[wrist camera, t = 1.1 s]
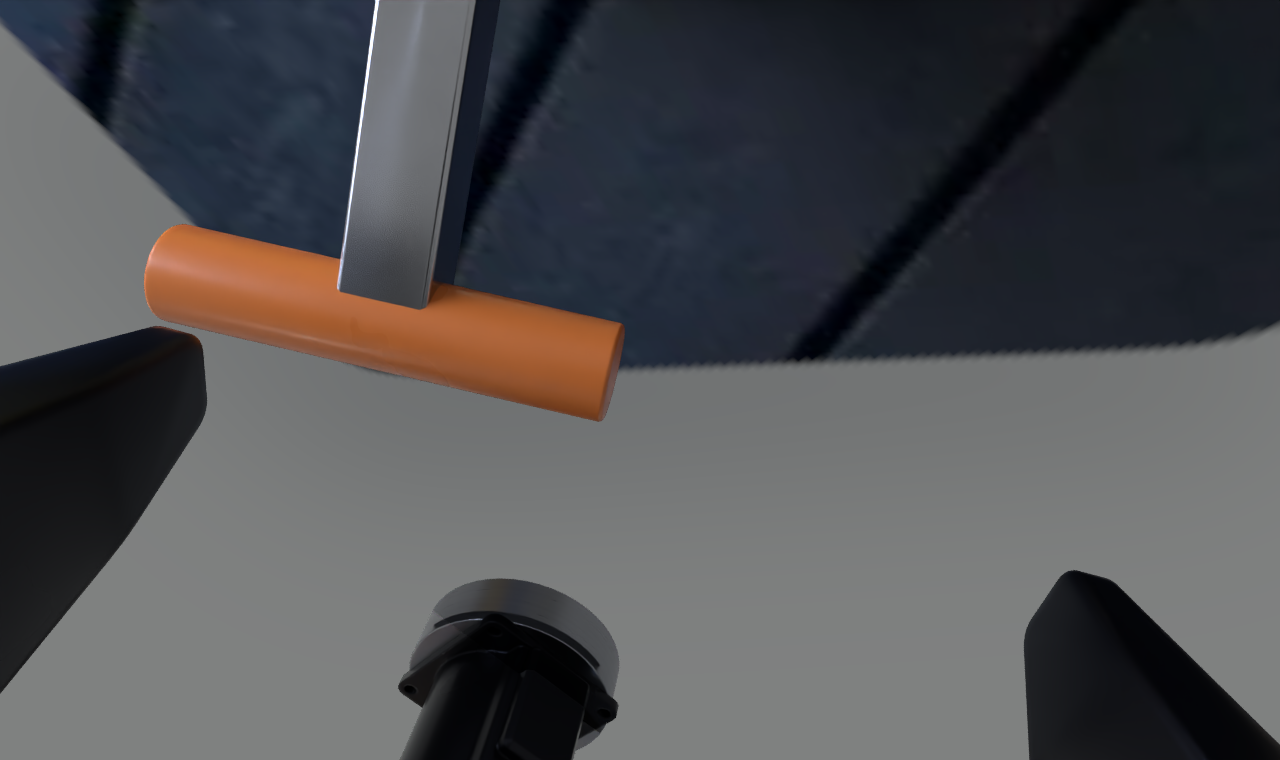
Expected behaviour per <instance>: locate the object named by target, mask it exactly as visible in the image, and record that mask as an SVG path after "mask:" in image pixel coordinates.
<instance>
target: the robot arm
mask: <svg viewBox="0 0 1280 760" xmlns="http://www.w3.org/2000/svg"><path fill="white" fill-rule="evenodd" d="M206 406H207V393H206V381H205V369H204V357H203V349H202V345H201V343H200V341H199V339H198V338H197V337H195V336H194V335H192V334H189V333H185V332H181V331H177V330H173V329H170V328H166V327H161V326H154V327H149V328H146V329H141V330H138V331H134V332H130V333H126V334H122V335H119V336H115V337H111V338H107V339H103V340H99V341H96V342H92V343H88V344H84V345H80V346H76V347H73V348H69V349H65V350H61V351H58V352H53V353H50V354H46V355H42V356H38V357H35V358H31V359H27V360H23V361H19V362H16V363H11V364H8V365H4V366H0V693H1V692H2V691H3V690H4V688H5V687H6V686H7V685H8V683H9V682H10V681H11V680H12V679H13V677H14V676H15V675H16V674H17V672H18V671H19V670H20V669H21V668H22V666H23V665H24V664H25V663H26V661H27V660H28V659H29V658H30V656H31V655H32V654H33V653H34V651H35V650H36V649H37V648H38V647H39V645H40V644H41V643H42V642H43V640H44V639H45V638H46V637H47V636H48V634H49V633H50V632H51V631H52V630H53V628H54V627H55V626H56V625H57V623H58V622H59V621H60V620H61V619H62V617H63V616H64V615H65V614H66V612H67V611H68V610H69V609H70V608H71V606H72V605H73V604H74V603H75V601H76V600H77V599H78V598H79V596H80V595H81V594H82V593H83V592H84V590H85V589H86V588H87V587H88V585H89V584H90V583H91V581H93V579H94V578H95V577H96V576H97V574H98V573H99V572H100V571H101V569H102V568H103V567H104V566H105V565H106V563H107V562H108V561H109V560H110V558H111V557H112V556H113V555H114V553H115V552H116V551H117V549H118V548H119V547H120V546H121V544H122V543H123V542H124V540H125V539H126V537H127V536H128V535H129V533H130V532H131V530H132V529H133V527H134V526H135V525H136V523H137V522H138V520H139V519H140V517H141V516H142V514H143V512H144V511H145V509H146V508H147V506H148V504H149V503H150V502H151V500H152V498H153V497H154V495H155V494H156V492H157V491H158V489H159V488H160V486H161V485H162V483H163V481H164V480H165V478H166V477H167V475H168V474H169V472H170V470H171V469H172V468H173V466H174V464H175V463H176V461H177V460H178V458H179V457H180V455H181V454H182V452H183V451H184V449H185V447H186V446H187V444H188V443H189V441H190V440H191V438H192V437H193V435H194V433H195V432H196V430H197V429H198V427H199V426H200V424H201V422H202V420H203V417H204V415H205V411H206ZM496 627H497V628H496ZM1024 658H1025V679H1026V699H1027V719H1028V740H1029V760H1280V744H1279V743H1278V742H1276V740H1274V739H1273V738H1272V737H1271V736H1270V735H1269V734H1268V733H1267V732H1266V731H1265V730H1264V729H1263V728H1262V727H1261V726H1260V725H1259V724H1258V723H1257V722H1256V721H1255V720H1254V719H1253V718H1252V717H1251V716H1250V715H1249V714H1248V713H1247V712H1246V711H1245V710H1244V709H1243V708H1242V707H1241V706H1240V705H1239V704H1238V703H1237V702H1236V701H1235V700H1234V699H1233V698H1232V697H1231V696H1230V695H1228V693H1227V692H1225V690H1224V689H1222V688H1221V687H1220V686H1219V685H1218V684H1217V683H1216V682H1215V681H1214V680H1213V679H1212V678H1211V677H1210V676H1209V675H1208V674H1207V673H1206V672H1205V671H1204V670H1203V669H1202V668H1201V667H1200V666H1199V665H1198V664H1197V663H1196V662H1195V661H1194V660H1193V659H1192V658H1191V657H1190V656H1189V655H1188V654H1187V653H1186V652H1185V651H1184V650H1183V649H1182V648H1181V647H1180V646H1179V645H1178V644H1177V643H1176V642H1175V641H1173V639H1172V638H1171V637H1170V636H1169V635H1168V634H1167V633H1166V632H1164V631H1163V630H1162V629H1161V628H1160V627H1159V626H1158V625H1157V624H1156V623H1155V622H1154V621H1153V620H1152V619H1151V618H1150V617H1149V616H1148V615H1147V614H1146V613H1145V612H1144V611H1143V610H1142V609H1141V608H1140V607H1139V606H1138V605H1137V604H1136V603H1135V602H1134V601H1133V600H1132V599H1131V598H1130V597H1129V596H1128V595H1127V594H1126V593H1125V592H1124V591H1123V590H1122V589H1121V588H1120V587H1119V586H1118V585H1117V584H1115V583H1114V582H1113V581H1111V580H1109V579H1107V578H1103V577H1100V576H1096V575H1092V574H1088V573H1084V572H1081V571H1077V570H1076V571H1075V570H1073V571H1068V572H1066V573H1064V574H1063V575H1062V576H1061V577H1060V578H1059V579H1058V581H1057V582H1056V584H1055V585H1054V587H1053V588H1052V589H1051V591H1050V593H1049V594H1048V595H1047V597H1046V598H1045V600H1044V601H1043V603H1042V604H1041V606H1040V607H1039V609H1038V610H1037V612H1036V613H1035V615H1034V616H1033V617H1032V619H1031V621H1030V622H1029V625H1028V627H1027V629H1026V633H1025V639H1024ZM398 689H399V690H400V692H401V693H402V694H403V695H405V696H406V697H408V698H409V699H411V700H412V701H413V702H415V703H416V704H418V705H419V706H421V707H422V710H421V712H420V715H419V717H418V719H417V721H416V724H415V726H414V729H413V731H412V733H411V736H410V738H409V740H408V742H407V745H406V747H405V749H404V751H403V754H402V756H401V758H400V760H573V758H574V754H575V750H576V746H577V742H578V739H580V738H582V737H584V736H586V735H587V734H589V733H591V732H593V731H595V730H596V729H598V728H600V727H602V726H604V725H605V724H607V723H609V722H611V721H613V720H614V719H615V718H616V716H617V711H618V707H619V705H618V703H617V702H616V700H614V699H613V698H612V697H611V696H609V695H608V694H607V693H605V692H604V691H603V690H601V689H600V688H599V687H598V686H596V685H595V684H594V683H592V682H591V681H590V680H588V679H587V678H586V677H584V676H583V675H582V674H580V673H579V672H578V671H576V670H575V669H574V668H572V667H571V666H570V665H568V664H567V663H566V662H564V661H563V660H562V659H560V658H559V657H558V656H556V655H555V654H554V653H552V652H551V651H550V650H548V649H547V648H546V647H544V646H543V645H542V644H540V643H539V642H538V641H537V640H535V639H534V638H533V637H531V636H530V635H529V634H527V633H526V632H525V631H523V630H522V629H521V628H519V627H518V626H517V625H515V624H514V623H513V622H511V621H510V620H509V619H507V618H506V617H504V616H502V615H500V614H489V615H487V616H486V617H484V618H483V619H481V620H480V621H479V622H477V623H476V624H474V625H473V626H472V627H470V628H469V629H467V630H466V631H465V632H463V633H462V634H460V635H459V636H458V637H456V638H455V639H453V640H452V641H451V642H449V643H448V644H446V645H445V646H444V647H442V648H441V649H439V650H438V651H437V652H435V653H434V654H432V655H431V656H430V657H428V658H427V659H425V660H424V661H422V662H421V663H420V664H418V665H417V666H415V667H414V668H413V669H411V670H410V671H408V672H407V673H406V674H404V675H403V677H402V679H401V681H400V683H399V685H398Z"/></svg>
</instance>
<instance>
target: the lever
mask: <svg viewBox="0 0 1280 760" xmlns="http://www.w3.org/2000/svg"><path fill="white" fill-rule="evenodd" d="M499 4H500V0H375V4H374V12H373V19H372V27H371V34H370V42H369V49H368V57H367V64H366V72H365V79H364V87H363V94H362V102H361V109H360V117H359V124H358V132H357V139H356V147H355V154H354V162H353V169H352V177H351V184H350V192H349V199H348V207H347V214H346V222H345V229H344V237H343V244H342V252H341V259H336V258H332V257H328V256H323V255H319V254H314V253H310V252H306V251H301V250H297V249H293V248H288V247H284V246H279V245H275V244H271V243H266V242H262V241H257V240H253V239H249V238H244V237H240V236H235V235H231V234H227V233H222V232H218V231H213V230H209V229H205V228H200V227H196V226H191V225H187V224H182V225H176V226H173V227H171V228H169V229H168V230H166V231H165V232H164V233H163V234H162V235H161V236H160V237H159V239H158V240H157V241H156V243H155V245H154V246H153V248H152V250H151V253H150V255H149V258H148V261H147V265H146V269H145V277H144V288H145V289H144V290H145V296H146V300H147V303H148V306H149V307H150V309H151V311H152V312H153V313H154V314H155V315H156V316H157V317H159V318H160V319H162V320H164V321H168V322H172V323H177V324H181V325H185V326H189V327H194V328H198V329H202V330H207V331H211V332H215V333H219V334H224V335H228V336H232V337H237V338H241V339H245V340H250V341H254V342H258V343H262V344H267V345H271V346H275V347H280V348H284V349H288V350H293V351H297V352H301V353H305V354H310V355H314V356H318V357H323V358H327V359H331V360H335V361H340V362H344V363H348V364H353V365H357V366H361V367H365V368H370V369H374V370H378V371H383V372H387V373H391V374H396V375H400V376H404V377H408V378H413V379H417V380H421V381H426V382H430V383H434V384H439V385H443V386H447V387H452V388H456V389H460V390H465V391H469V392H473V393H477V394H482V395H486V396H491V397H494V398H499V399H503V400H507V401H512V402H516V403H520V404H525V405H529V406H533V407H538V408H542V409H547V410H550V411H555V412H559V413H563V414H568V415H572V416H576V417H581V418H585V419H590V420H593V421H598V422H599V421H602V420H603V418H604V417H605V415H606V413H607V410H608V407H609V404H610V400H611V397H612V393H613V389H614V385H615V381H616V377H617V372H618V368H619V363H620V359H621V353H622V348H623V342H624V334H625V329H624V325H622V324H621V323H618V322H613V321H609V320H604V319H600V318H596V317H591V316H587V315H582V314H578V313H574V312H569V311H565V310H560V309H556V308H552V307H547V306H543V305H539V304H534V303H530V302H525V301H521V300H517V299H512V298H508V297H503V296H499V295H495V294H490V293H486V292H481V291H477V290H473V289H468V288H464V287H459V286H455V285H453V284H454V278H455V272H456V266H457V260H458V254H459V248H460V242H461V235H462V229H463V223H464V217H465V211H466V205H467V199H468V193H469V187H470V181H471V175H472V169H473V163H474V156H475V150H476V144H477V138H478V132H479V126H480V120H481V114H482V108H483V102H484V96H485V90H486V83H487V77H488V71H489V65H490V59H491V53H492V47H493V41H494V35H495V29H496V23H497V17H498V11H499Z"/></svg>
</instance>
